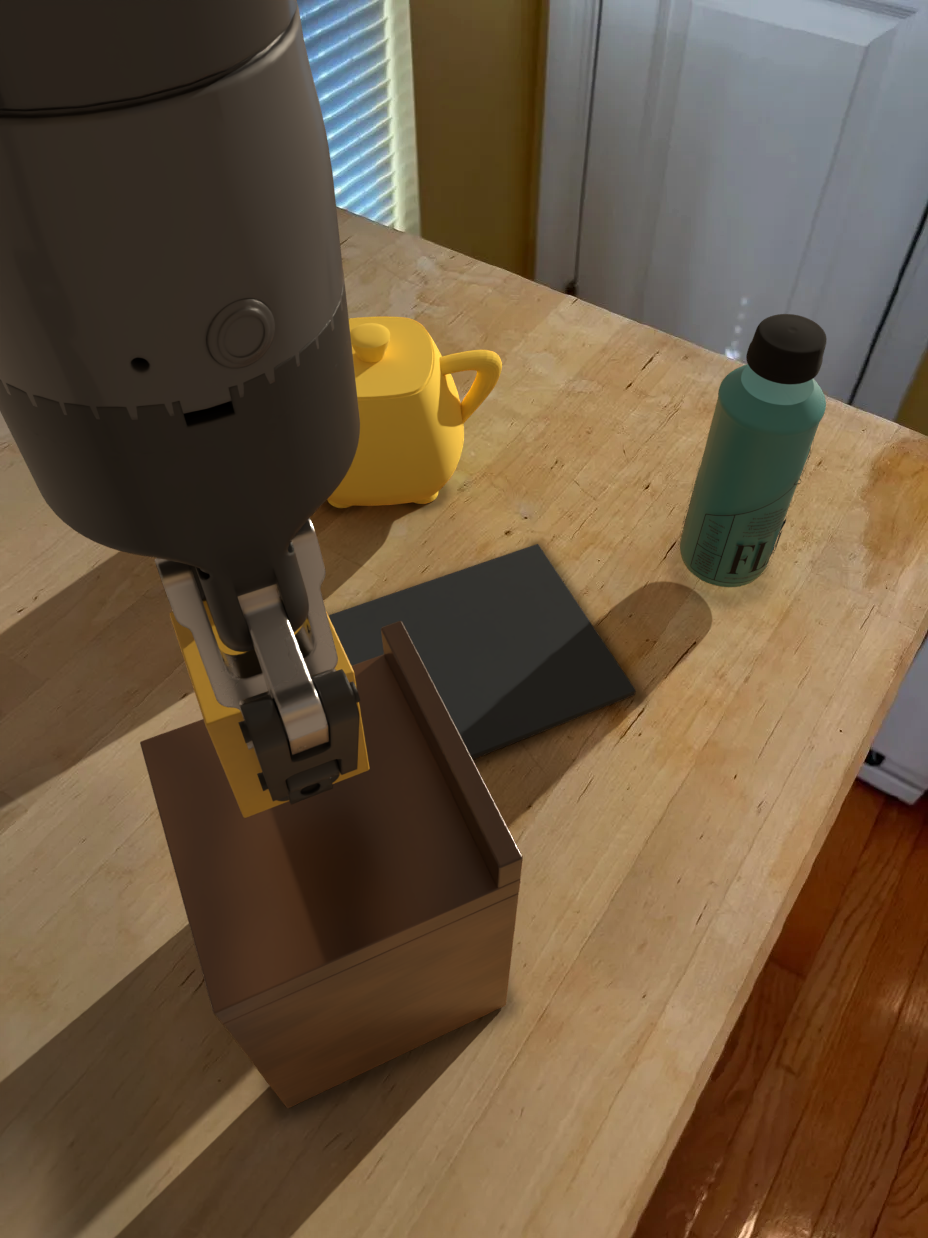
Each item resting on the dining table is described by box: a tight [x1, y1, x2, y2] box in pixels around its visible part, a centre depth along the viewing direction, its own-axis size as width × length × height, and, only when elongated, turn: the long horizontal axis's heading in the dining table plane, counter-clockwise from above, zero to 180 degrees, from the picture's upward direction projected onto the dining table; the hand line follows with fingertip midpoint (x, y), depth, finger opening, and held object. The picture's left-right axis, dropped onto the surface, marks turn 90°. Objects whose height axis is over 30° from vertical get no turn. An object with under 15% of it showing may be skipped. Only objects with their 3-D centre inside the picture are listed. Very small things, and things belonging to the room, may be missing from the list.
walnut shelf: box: [139, 621, 524, 1109], centre depth 44 cm, size 12×12×19 cm
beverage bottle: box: [677, 313, 828, 588], centre depth 60 cm, size 6×7×20 cm
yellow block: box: [169, 601, 369, 818], centre depth 31 cm, size 4×4×6 cm
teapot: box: [326, 316, 503, 509], centre depth 69 cm, size 13×20×12 cm
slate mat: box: [328, 543, 637, 760], centre depth 62 cm, size 18×14×1 cm
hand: (282, 722), depth 32 cm, fingers closed on yellow block, 4 cm apart
